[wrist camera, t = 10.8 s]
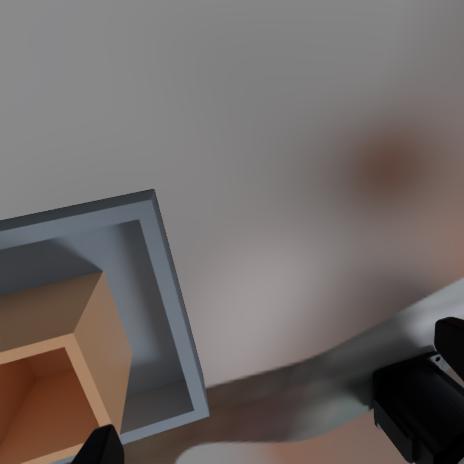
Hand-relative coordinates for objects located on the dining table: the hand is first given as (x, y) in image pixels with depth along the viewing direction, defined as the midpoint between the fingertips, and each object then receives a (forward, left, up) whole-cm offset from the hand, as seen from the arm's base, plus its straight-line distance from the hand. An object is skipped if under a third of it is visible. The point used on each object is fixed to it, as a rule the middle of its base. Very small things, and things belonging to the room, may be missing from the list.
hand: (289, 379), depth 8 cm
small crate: (+10, +3, -11) cm, 15 cm away
